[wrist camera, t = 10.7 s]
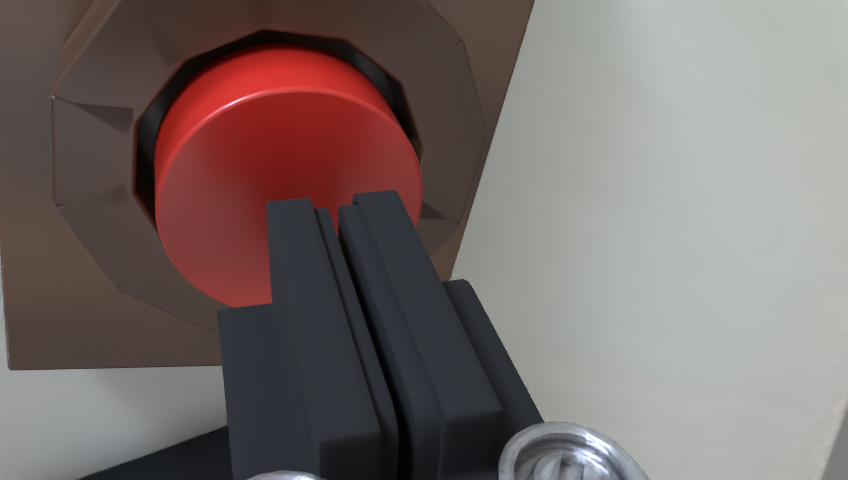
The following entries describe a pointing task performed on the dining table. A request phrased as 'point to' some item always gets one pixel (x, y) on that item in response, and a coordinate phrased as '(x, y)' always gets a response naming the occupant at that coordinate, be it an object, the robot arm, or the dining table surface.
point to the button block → (135, 142)
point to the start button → (269, 159)
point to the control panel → (180, 462)
